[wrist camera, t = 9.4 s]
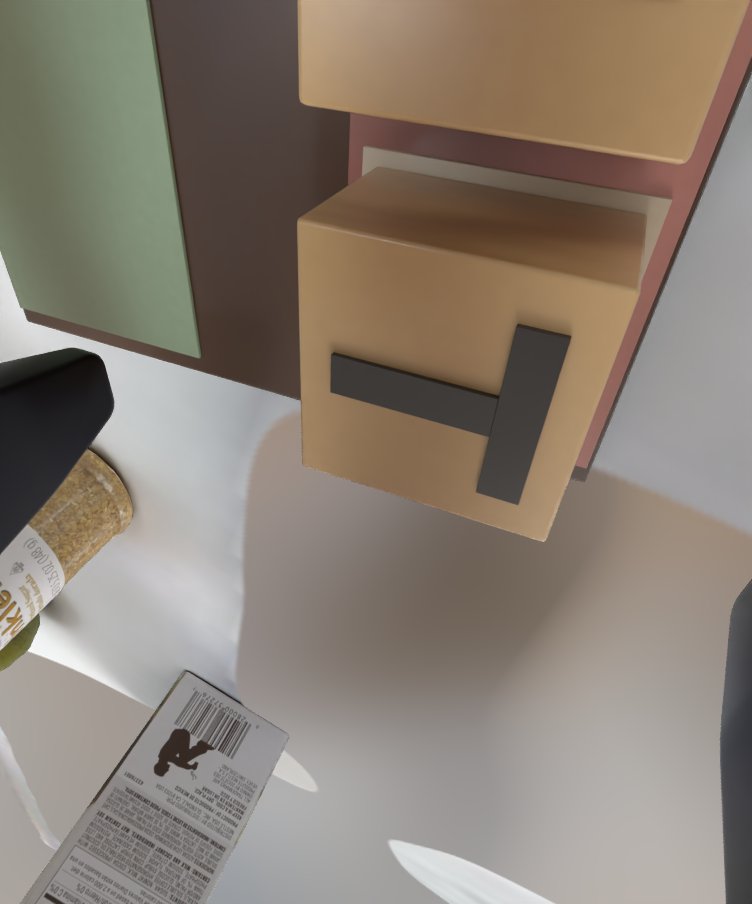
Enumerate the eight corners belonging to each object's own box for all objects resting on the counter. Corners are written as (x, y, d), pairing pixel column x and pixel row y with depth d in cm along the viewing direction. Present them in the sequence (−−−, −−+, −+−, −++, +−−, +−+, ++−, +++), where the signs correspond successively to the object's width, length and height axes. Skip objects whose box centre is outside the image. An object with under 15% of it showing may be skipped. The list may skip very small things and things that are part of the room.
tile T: (649, 214, 9) (641, 294, 7) (568, 440, 12) (544, 549, 10) (376, 165, 10) (291, 220, 8) (362, 384, 13) (298, 469, 11)
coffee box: (251, 779, 35) (40, 1186, 23) (158, 722, 35) (-100, 1100, 23) (296, 735, 29) (37, 1264, 17) (182, 665, 29) (-156, 1146, 17)
